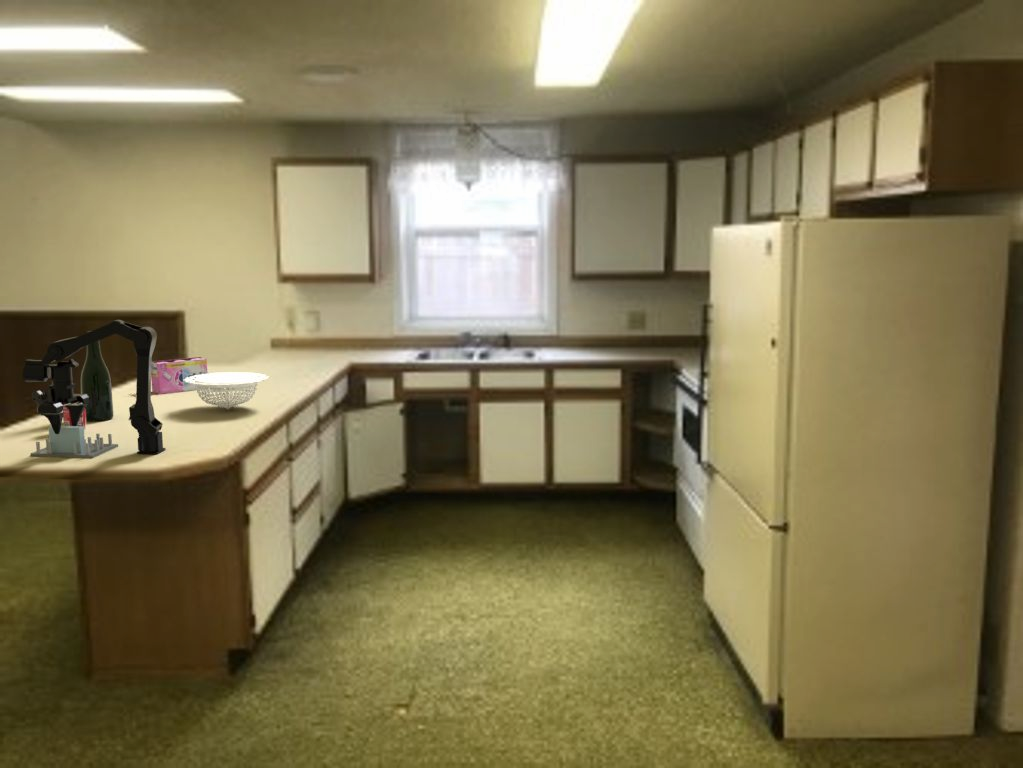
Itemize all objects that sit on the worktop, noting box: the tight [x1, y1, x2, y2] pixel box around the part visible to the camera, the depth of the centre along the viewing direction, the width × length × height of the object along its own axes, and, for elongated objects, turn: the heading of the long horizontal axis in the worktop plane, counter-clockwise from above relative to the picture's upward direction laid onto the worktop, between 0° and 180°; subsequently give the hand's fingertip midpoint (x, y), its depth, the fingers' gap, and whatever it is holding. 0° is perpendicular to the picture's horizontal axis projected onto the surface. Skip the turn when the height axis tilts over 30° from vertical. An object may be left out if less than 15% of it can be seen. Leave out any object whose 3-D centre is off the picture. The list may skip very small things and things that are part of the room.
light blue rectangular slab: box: [48, 425, 86, 453], centre depth 270 cm, size 10×2×8 cm, turn 85°
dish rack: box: [30, 433, 119, 459], centre depth 275 cm, size 20×15×4 cm
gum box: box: [151, 356, 209, 395], centre depth 383 cm, size 24×8×14 cm, turn 136°
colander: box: [183, 371, 270, 410], centre depth 342 cm, size 32×32×13 cm
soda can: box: [62, 407, 87, 431], centre depth 302 cm, size 7×7×12 cm
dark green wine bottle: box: [80, 330, 115, 422], centre depth 320 cm, size 10×10×33 cm
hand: (65, 430), depth 270 cm, fingers open, 9 cm apart
